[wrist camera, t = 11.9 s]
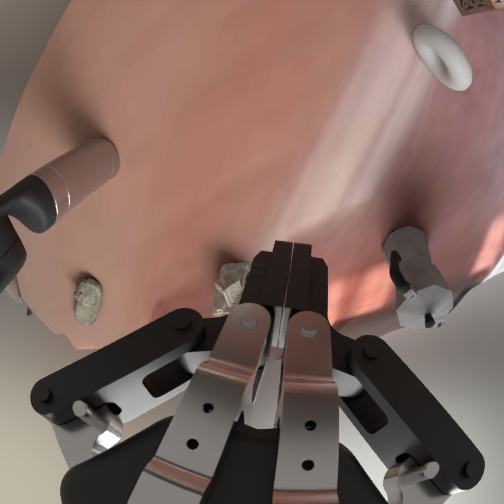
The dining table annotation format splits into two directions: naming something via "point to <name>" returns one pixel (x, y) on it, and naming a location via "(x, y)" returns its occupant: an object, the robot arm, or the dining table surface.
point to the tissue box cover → (478, 6)
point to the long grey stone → (87, 301)
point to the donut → (442, 57)
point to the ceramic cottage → (230, 287)
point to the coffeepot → (416, 280)
